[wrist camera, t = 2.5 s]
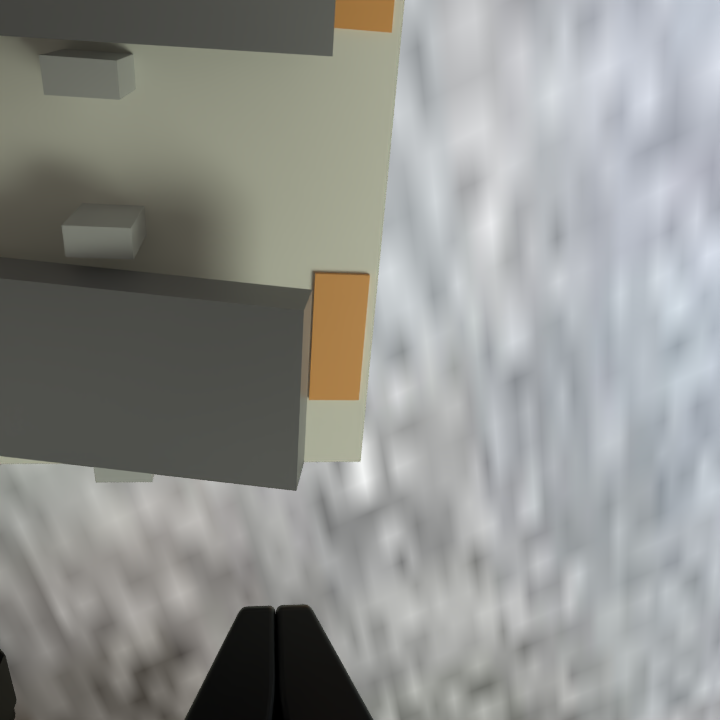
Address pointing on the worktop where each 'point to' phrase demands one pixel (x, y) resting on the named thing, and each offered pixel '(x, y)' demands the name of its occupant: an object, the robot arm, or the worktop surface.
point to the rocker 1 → (179, 23)
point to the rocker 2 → (154, 372)
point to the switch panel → (215, 180)
